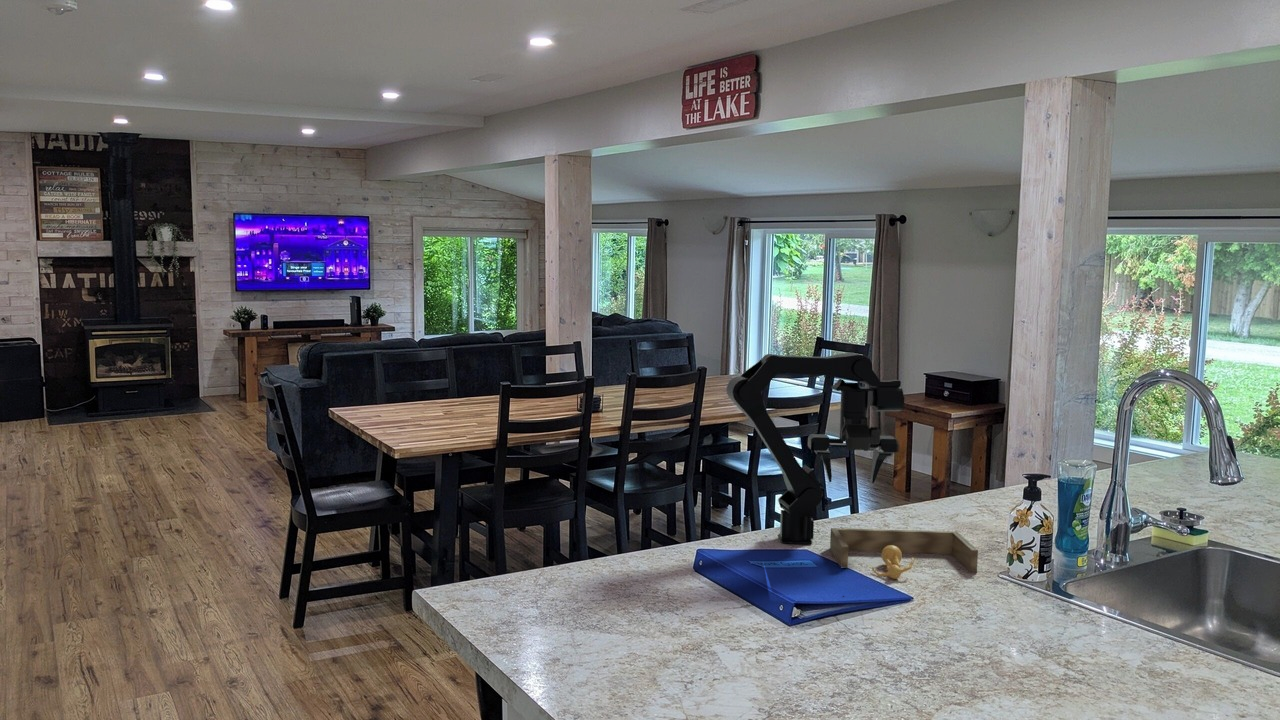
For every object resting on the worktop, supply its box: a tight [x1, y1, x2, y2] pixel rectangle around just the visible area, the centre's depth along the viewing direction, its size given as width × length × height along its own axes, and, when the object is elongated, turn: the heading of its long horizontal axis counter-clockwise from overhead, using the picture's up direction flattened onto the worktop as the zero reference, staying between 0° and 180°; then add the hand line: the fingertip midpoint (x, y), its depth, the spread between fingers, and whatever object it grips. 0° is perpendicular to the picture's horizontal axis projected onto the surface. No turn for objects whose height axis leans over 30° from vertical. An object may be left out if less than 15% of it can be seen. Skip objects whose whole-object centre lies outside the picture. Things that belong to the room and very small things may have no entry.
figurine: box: [871, 545, 915, 580], centre depth 189 cm, size 8×6×12 cm
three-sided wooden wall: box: [829, 527, 979, 574], centre depth 197 cm, size 26×14×4 cm, turn 88°
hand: (851, 482), depth 210 cm, fingers open, 9 cm apart
